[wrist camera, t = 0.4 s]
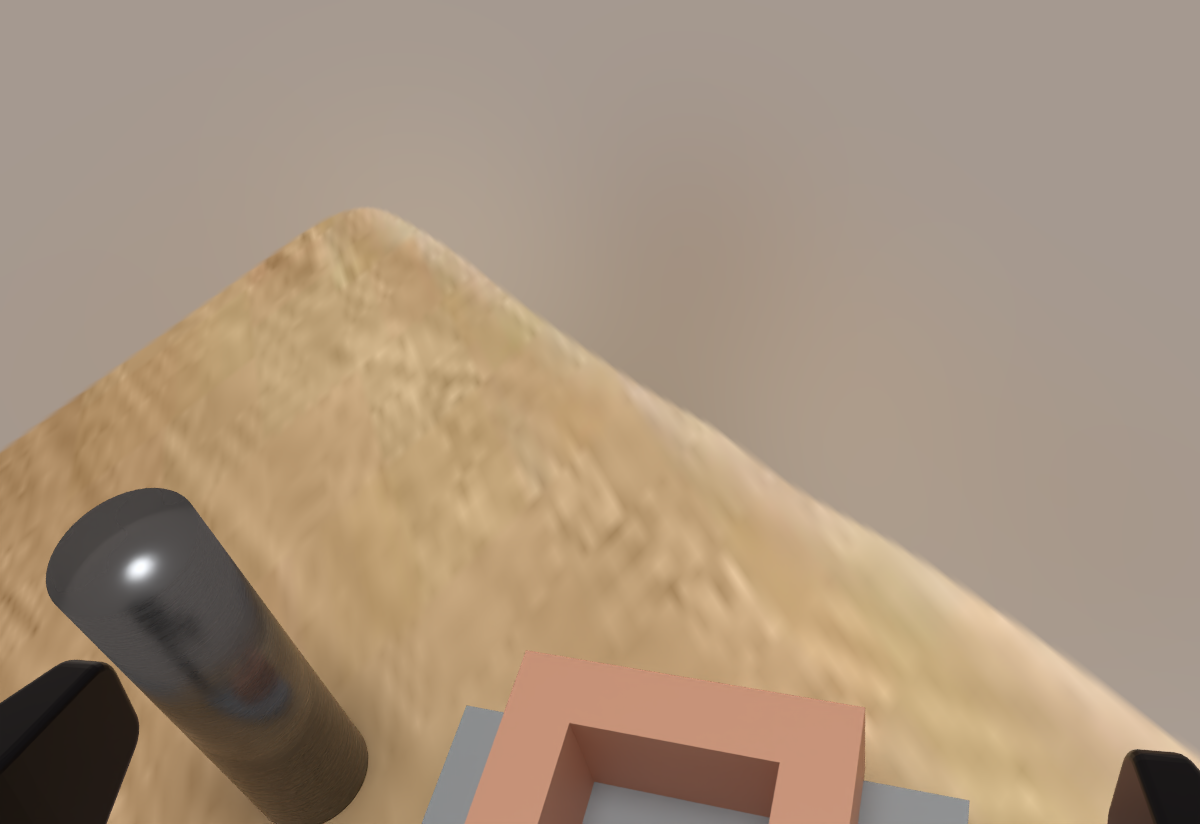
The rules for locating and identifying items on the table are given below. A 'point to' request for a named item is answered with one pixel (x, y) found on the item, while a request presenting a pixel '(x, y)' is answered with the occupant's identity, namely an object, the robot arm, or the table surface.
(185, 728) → the peg
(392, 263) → the table surface
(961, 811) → the socket base
